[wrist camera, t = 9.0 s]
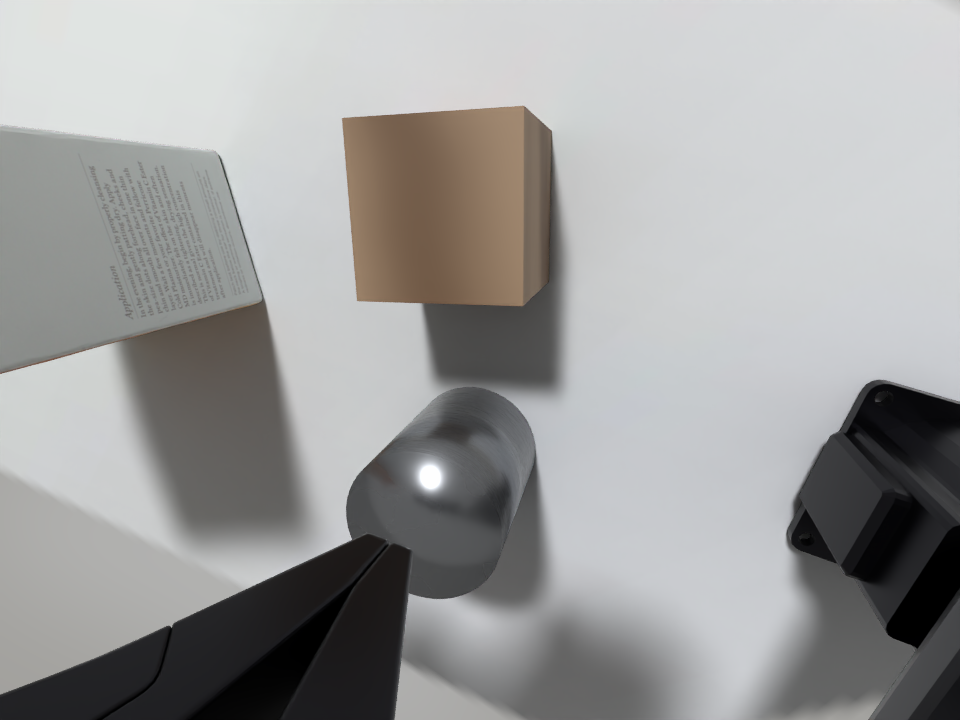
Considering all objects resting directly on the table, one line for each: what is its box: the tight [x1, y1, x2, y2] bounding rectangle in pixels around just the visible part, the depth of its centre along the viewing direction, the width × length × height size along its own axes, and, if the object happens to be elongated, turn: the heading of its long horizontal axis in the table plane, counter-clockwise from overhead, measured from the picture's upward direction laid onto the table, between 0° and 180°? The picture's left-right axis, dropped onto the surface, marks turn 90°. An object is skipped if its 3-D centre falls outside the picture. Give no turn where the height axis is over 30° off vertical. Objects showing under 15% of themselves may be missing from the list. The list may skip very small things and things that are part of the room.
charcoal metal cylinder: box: [346, 387, 535, 599], centre depth 19 cm, size 5×5×6 cm
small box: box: [0, 125, 263, 374], centre depth 17 cm, size 8×6×13 cm
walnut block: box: [342, 106, 552, 306], centre depth 17 cm, size 5×5×5 cm
